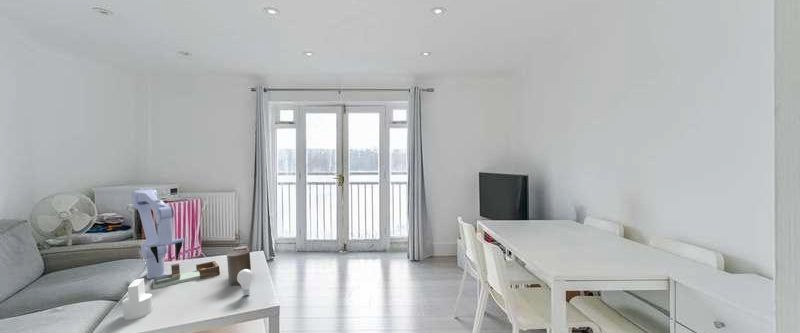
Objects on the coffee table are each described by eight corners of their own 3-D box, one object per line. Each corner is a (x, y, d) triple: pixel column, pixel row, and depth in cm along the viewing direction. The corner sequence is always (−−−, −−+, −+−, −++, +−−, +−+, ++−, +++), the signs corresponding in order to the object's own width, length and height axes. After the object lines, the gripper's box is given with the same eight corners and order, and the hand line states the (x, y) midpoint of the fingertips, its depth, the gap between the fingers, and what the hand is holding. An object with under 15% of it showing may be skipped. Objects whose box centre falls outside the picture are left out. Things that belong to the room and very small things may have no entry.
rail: (154, 280, 166) (153, 277, 166) (177, 275, 171) (177, 272, 171) (154, 284, 160) (154, 282, 159) (179, 279, 165) (179, 277, 165)
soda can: (244, 275, 171) (243, 249, 170) (231, 275, 172) (229, 249, 171) (253, 270, 178) (252, 245, 177) (241, 270, 179) (239, 245, 178)
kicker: (171, 276, 169) (170, 264, 169) (179, 275, 171) (178, 262, 170) (172, 279, 165) (171, 266, 165) (180, 277, 167) (179, 265, 166)
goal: (196, 272, 178) (196, 264, 178) (215, 268, 183) (214, 260, 183) (200, 278, 169) (199, 270, 169) (219, 274, 174) (219, 266, 174)
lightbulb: (238, 299, 142) (236, 273, 142) (237, 294, 148) (236, 268, 147) (255, 296, 145) (253, 270, 145) (254, 291, 151) (252, 265, 150)
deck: (152, 282, 166) (152, 279, 166) (198, 272, 178) (198, 270, 178) (153, 288, 158) (153, 285, 158) (201, 277, 170) (201, 275, 170)
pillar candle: (256, 279, 164) (254, 248, 164) (236, 287, 156) (234, 253, 155) (243, 276, 169) (241, 246, 169) (224, 283, 161) (222, 251, 161)
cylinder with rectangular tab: (127, 311, 136) (125, 280, 135) (155, 306, 139) (153, 276, 139) (120, 321, 127) (117, 289, 127) (149, 316, 131) (147, 284, 130)
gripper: (147, 236, 158) (149, 266, 159) (184, 230, 167) (186, 259, 168) (146, 233, 163) (148, 262, 164) (182, 228, 172) (184, 255, 173)
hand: (167, 260), depth 166 cm, fingers open, 7 cm apart
